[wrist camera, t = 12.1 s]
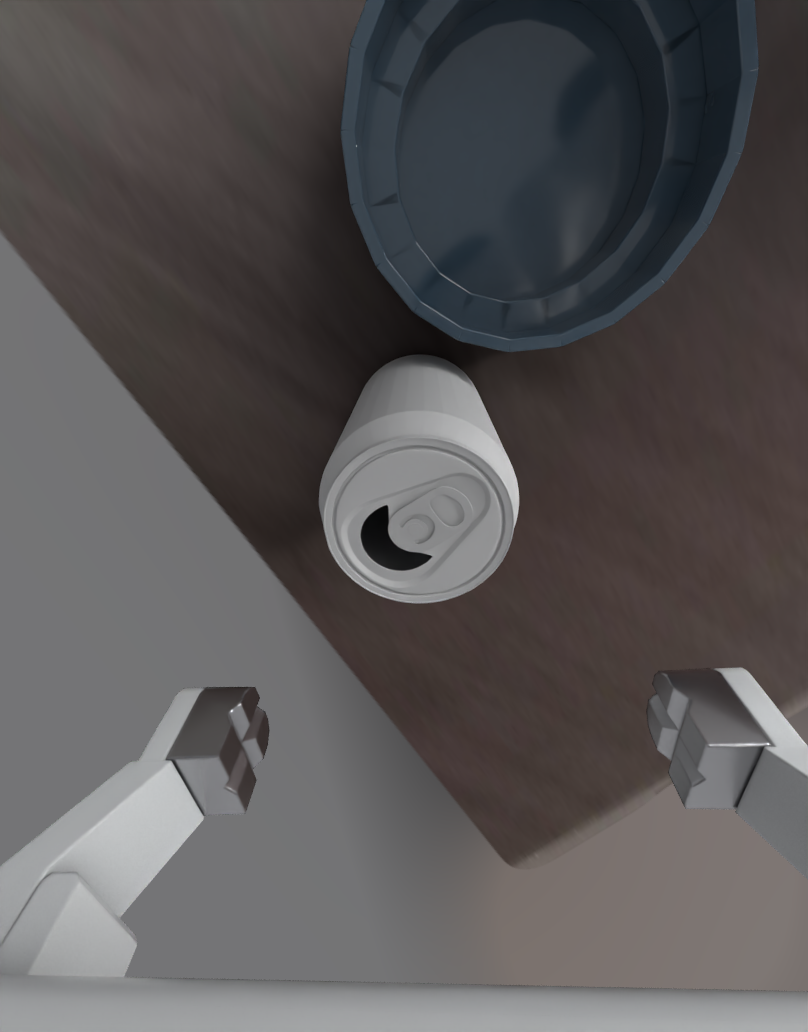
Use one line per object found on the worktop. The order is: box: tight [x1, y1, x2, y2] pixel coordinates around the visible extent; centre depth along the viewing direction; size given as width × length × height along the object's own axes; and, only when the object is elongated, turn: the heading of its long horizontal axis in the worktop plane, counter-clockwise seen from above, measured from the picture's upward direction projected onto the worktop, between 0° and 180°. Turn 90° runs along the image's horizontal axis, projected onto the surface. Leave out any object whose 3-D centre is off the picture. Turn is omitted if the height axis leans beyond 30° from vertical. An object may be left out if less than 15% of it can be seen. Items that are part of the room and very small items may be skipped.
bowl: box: [340, 0, 759, 352], centre depth 17 cm, size 13×13×4 cm
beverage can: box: [319, 355, 519, 603], centre depth 19 cm, size 6×6×12 cm
